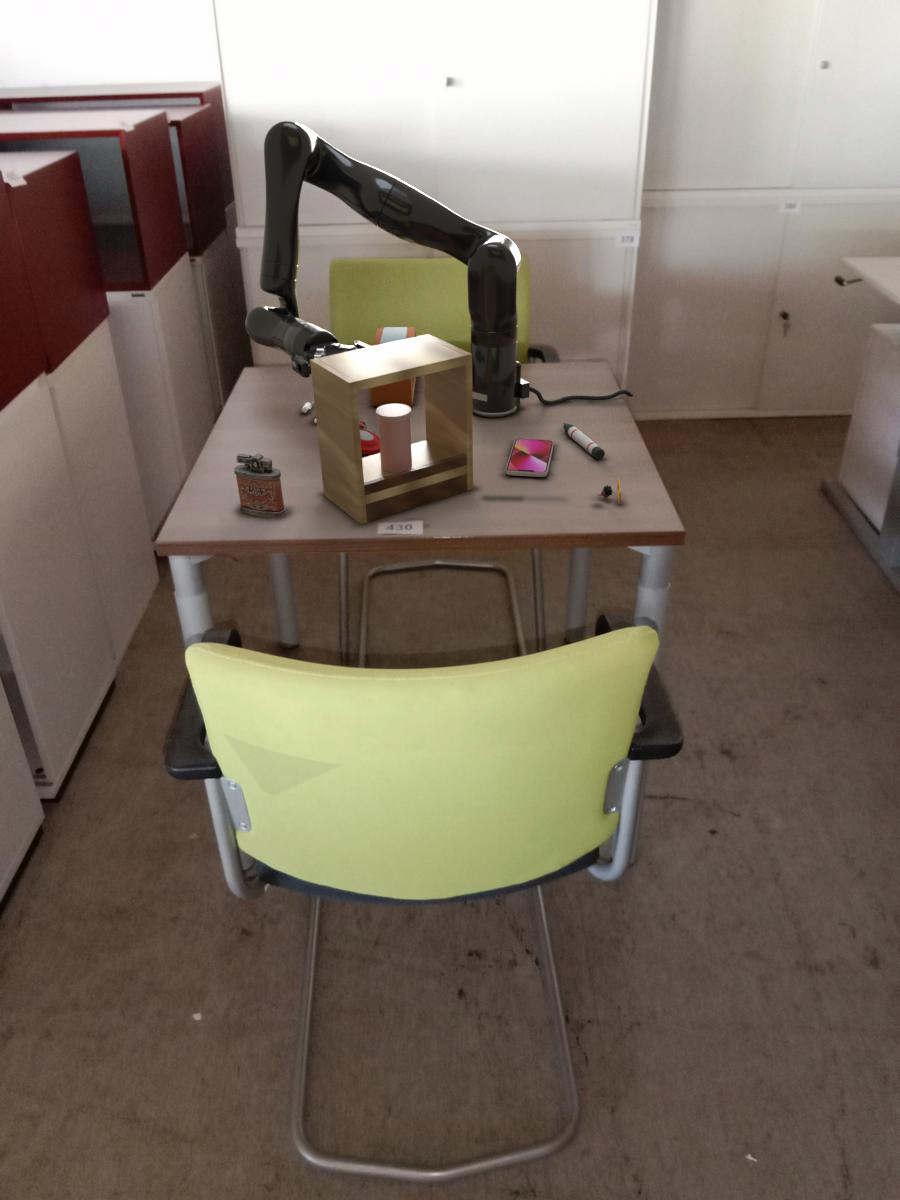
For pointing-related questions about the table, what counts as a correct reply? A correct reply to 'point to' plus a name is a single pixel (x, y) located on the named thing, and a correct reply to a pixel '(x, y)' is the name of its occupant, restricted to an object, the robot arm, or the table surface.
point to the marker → (584, 441)
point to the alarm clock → (402, 389)
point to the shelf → (435, 461)
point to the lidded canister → (394, 437)
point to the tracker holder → (368, 440)
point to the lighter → (259, 486)
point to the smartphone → (530, 457)
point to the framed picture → (610, 491)
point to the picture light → (307, 408)
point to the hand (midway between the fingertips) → (352, 369)
